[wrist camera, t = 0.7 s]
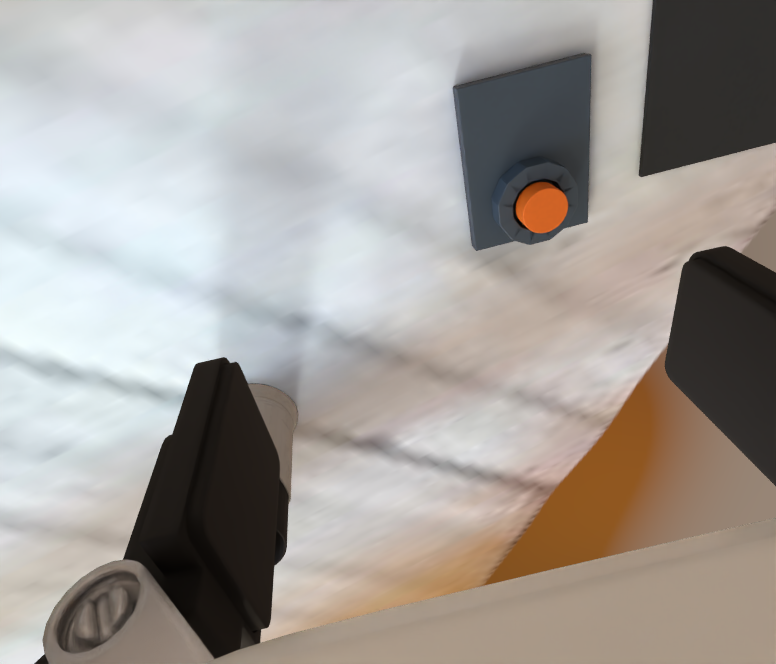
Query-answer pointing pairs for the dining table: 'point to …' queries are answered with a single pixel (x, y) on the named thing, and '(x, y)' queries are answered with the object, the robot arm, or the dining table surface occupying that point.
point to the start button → (541, 207)
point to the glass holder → (279, 449)
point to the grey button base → (524, 145)
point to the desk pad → (708, 81)
